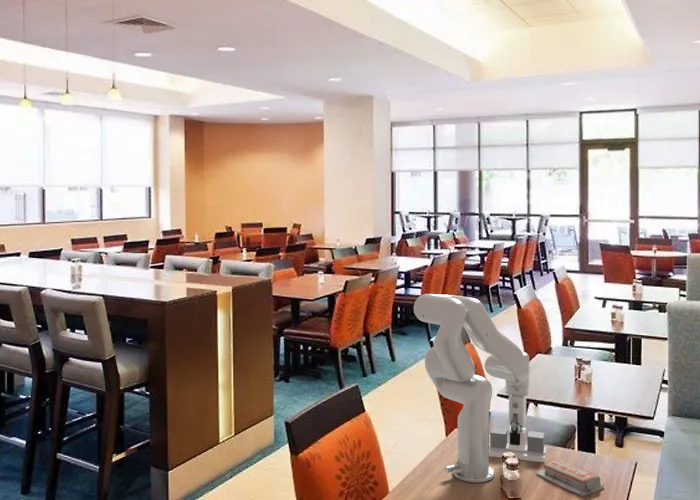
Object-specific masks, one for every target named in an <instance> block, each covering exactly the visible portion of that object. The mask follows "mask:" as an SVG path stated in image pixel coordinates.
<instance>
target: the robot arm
mask: <svg viewBox="0 0 700 500" xmlns="http://www.w3.org/2000/svg"><path fill="white" fill-rule="evenodd" d="M486 309H487V308H486V307H485V305H484V304H483V303H482V302H481V301H480V300H479V299H477V298H474V297H469V296H463V295H456V294H454V295H453V294H434V293H424V294H421V295H420V296H417V299H416V300H415V301H414V305H413V313H414V315H415V317H416V318H417V320H419V321H421V322H423V323H428V324H432V325H433V324H435V325H439V329H438V331H437V333H436V335H435V337H434V339H433V343H432V345H433V346H432V347H431V348H429V349H428V350H427V352H426V354H425V357H424V367H425V371H426V373H427V375H428V376H429V378H430V380H431V381H432V383H433V385H434V386H435V388H436V389H437V391H438V393H439V394H440V395H441V396H442V397H443V398H445V399H448V400H451V401H454V402H456V403H460V404H463V407H462V409H461V411H460V412H459V414H458V415H457V459H454V463H453V464H452V465H451V464H450V465H446V466H444V472H445V473H447V474H448V473H452V474H453V476H454V477H455V478H456V479H458V480H460V481H464V482H467V483H484V482H488V481H491V480H492V479H493V478H494V476H495V471H494V469H493V468H492V467H491V466H490V456H489V445H490V408H491V403H492V402H491V401H492V397H493V387H492V383H491V382H490V381H489V380H488V379H487V378H485V377H483V376H482V375H479V374H475V373H476V365H475V363H474V360H473V359H472V356H471V355H470V353H469V351H468V349H467V348H466V346H465V344H464V343H463V339H462V332H463V328H464V330H465V331H466V333H467V335H468V336H469V338H470V340H471V341H472V343H473V344H474V346H475V347H477V348H478V349H479V350H481V351H482V352H485V353H486V354H488V355H490V356H488V357H487V358H486V360H485V361H484V370H485V372H486V373H487V374H488V375H489V376H491V377H493V378H497V379H501V380H505V387H504V388H505V391H504V392H505V394H506V395H508V424H509V425H510V426H511V431H510V444H511V445H520V433H519V431H520V427H522V428H524V426H525V424H526V421H527V396H529V395H530V356H529V354H528V353H527V352H525V351H522V350H521V349H520V348H519V346H518V345H517V344H516V343H514V342H513V341H512V340H511V339H509V338H508V337H507V336H505V334H503V333H502V332H501V331H499V330H498V329H497V327H496V325H495V323H494V321H493V320H492V318H491V316H490V315H489V313H488V311H487V310H486ZM517 427H518V428H517Z"/></svg>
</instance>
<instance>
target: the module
mask: <svg viewBox="0 0 700 500" xmlns="http://www.w3.org/2000/svg"><path fill="white" fill-rule="evenodd" d="M517 428H518V427H517ZM526 428H527V427H523V428H522V427H520V431H519V433H520V445H511V444H510V431H511V425H510V427H509V430H508V443H509V449H511V450H520V451H524V450H525V446H526V444H527V443H526V435H527V433H526V432H527V431H526Z"/></svg>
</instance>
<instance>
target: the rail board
mask: <svg viewBox="0 0 700 500" xmlns="http://www.w3.org/2000/svg"><path fill="white" fill-rule="evenodd" d="M526 444H527V445H526V446H525V450H524V451H520V450H511V449H509V442H508V428H499V427H493V426H492V427H491V430H490V431H489V457H495V458H501V456H502V454H503V453H508V452H512V453H514V454H515V455H516V457H517V458H519V459H520V461H521V460H522V461H528V462H538V463H546V462H545V461H546V456H547V447H545V432H542V431H532V430H531V431H528V433H527V443H526ZM519 459H518V460H519Z"/></svg>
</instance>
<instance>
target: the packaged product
mask: <svg viewBox="0 0 700 500" xmlns="http://www.w3.org/2000/svg"><path fill="white" fill-rule="evenodd" d="M535 473H536V474H537V476H538V475H539V477H540V478H543V479H546V480H547V481H549V482H552V483H554V484H556V485H558V486H560V487H562V488H564V489H566V490H568V491H571V492H573V493H576V494H578V496H581V497H585V496H588V495H590V494H593V493H596V492H599V491H600V490H603V489H605V483H602V482H601V477H600V475H598V474H595V473H594V472H590V471H589V470H586V469H585V468H581V467H580V466H577V465H574V464H572V463H571V462H568V461H566V460H563V459H561V458H558V457H551V459H550V460H549V461H546V462H544V463H543V469H540V470H538V471H535Z"/></svg>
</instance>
